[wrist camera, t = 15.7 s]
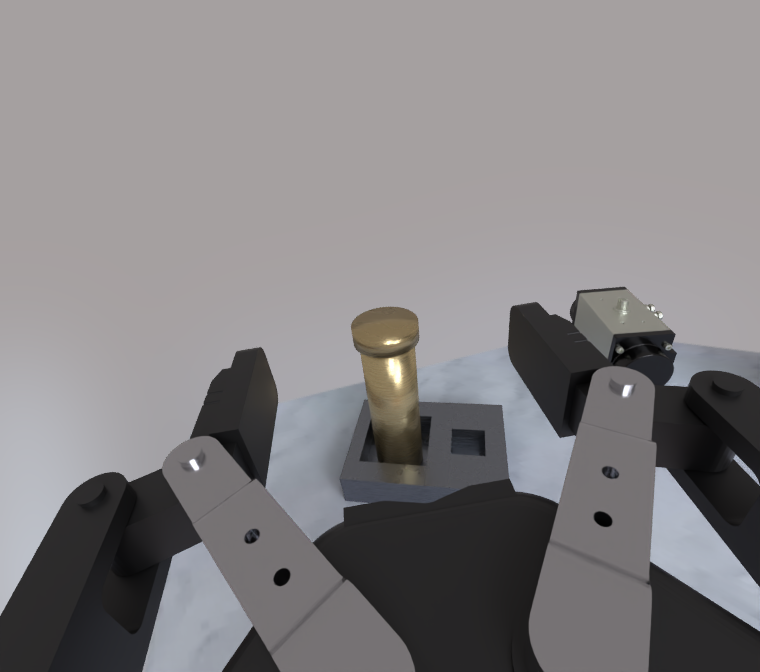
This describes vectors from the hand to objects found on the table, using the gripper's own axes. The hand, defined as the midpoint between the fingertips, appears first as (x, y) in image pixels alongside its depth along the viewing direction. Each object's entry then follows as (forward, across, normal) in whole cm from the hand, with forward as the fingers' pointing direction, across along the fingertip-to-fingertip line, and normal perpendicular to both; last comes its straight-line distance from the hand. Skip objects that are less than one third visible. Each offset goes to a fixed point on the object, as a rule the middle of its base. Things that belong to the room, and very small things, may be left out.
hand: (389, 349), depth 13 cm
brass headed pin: (+15, 0, +24) cm, 28 cm away
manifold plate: (+15, -3, +24) cm, 29 cm away
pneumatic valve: (+19, -23, +25) cm, 39 cm away
